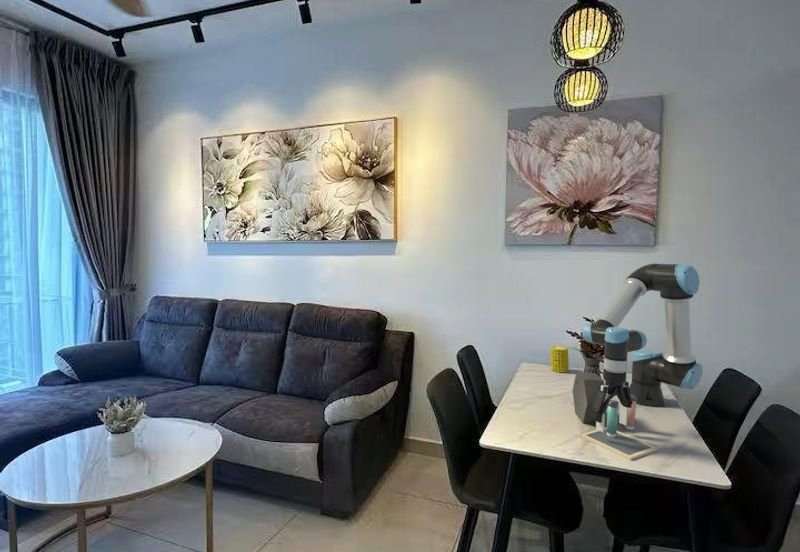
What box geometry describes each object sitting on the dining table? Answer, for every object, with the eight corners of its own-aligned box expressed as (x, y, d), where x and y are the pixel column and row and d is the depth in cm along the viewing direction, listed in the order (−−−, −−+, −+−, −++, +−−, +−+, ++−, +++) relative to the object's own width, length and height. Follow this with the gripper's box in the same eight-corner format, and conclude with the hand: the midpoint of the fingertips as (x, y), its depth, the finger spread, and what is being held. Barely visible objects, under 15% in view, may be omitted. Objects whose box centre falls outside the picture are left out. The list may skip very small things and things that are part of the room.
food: (571, 375, 239) (555, 376, 237) (559, 364, 250) (544, 366, 247) (575, 350, 234) (559, 352, 232) (563, 341, 245) (547, 342, 243)
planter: (610, 420, 160) (601, 366, 171) (588, 418, 161) (581, 365, 171) (596, 428, 175) (589, 378, 185) (576, 426, 176) (570, 377, 186)
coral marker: (628, 426, 167) (629, 393, 166) (636, 429, 164) (638, 396, 163) (622, 427, 165) (624, 395, 164) (631, 431, 162) (633, 398, 161)
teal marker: (610, 433, 158) (611, 399, 157) (618, 437, 155) (620, 402, 154) (603, 435, 157) (605, 400, 156) (612, 439, 154) (614, 404, 153)
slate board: (607, 428, 164) (607, 426, 164) (657, 450, 147) (658, 447, 147) (580, 436, 156) (580, 434, 156) (630, 460, 139) (630, 457, 139)
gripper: (626, 363, 163) (623, 417, 165) (583, 371, 152) (580, 429, 153) (645, 368, 157) (642, 424, 158) (602, 377, 145) (598, 437, 147)
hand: (611, 427), depth 156 cm, fingers open, 13 cm apart
